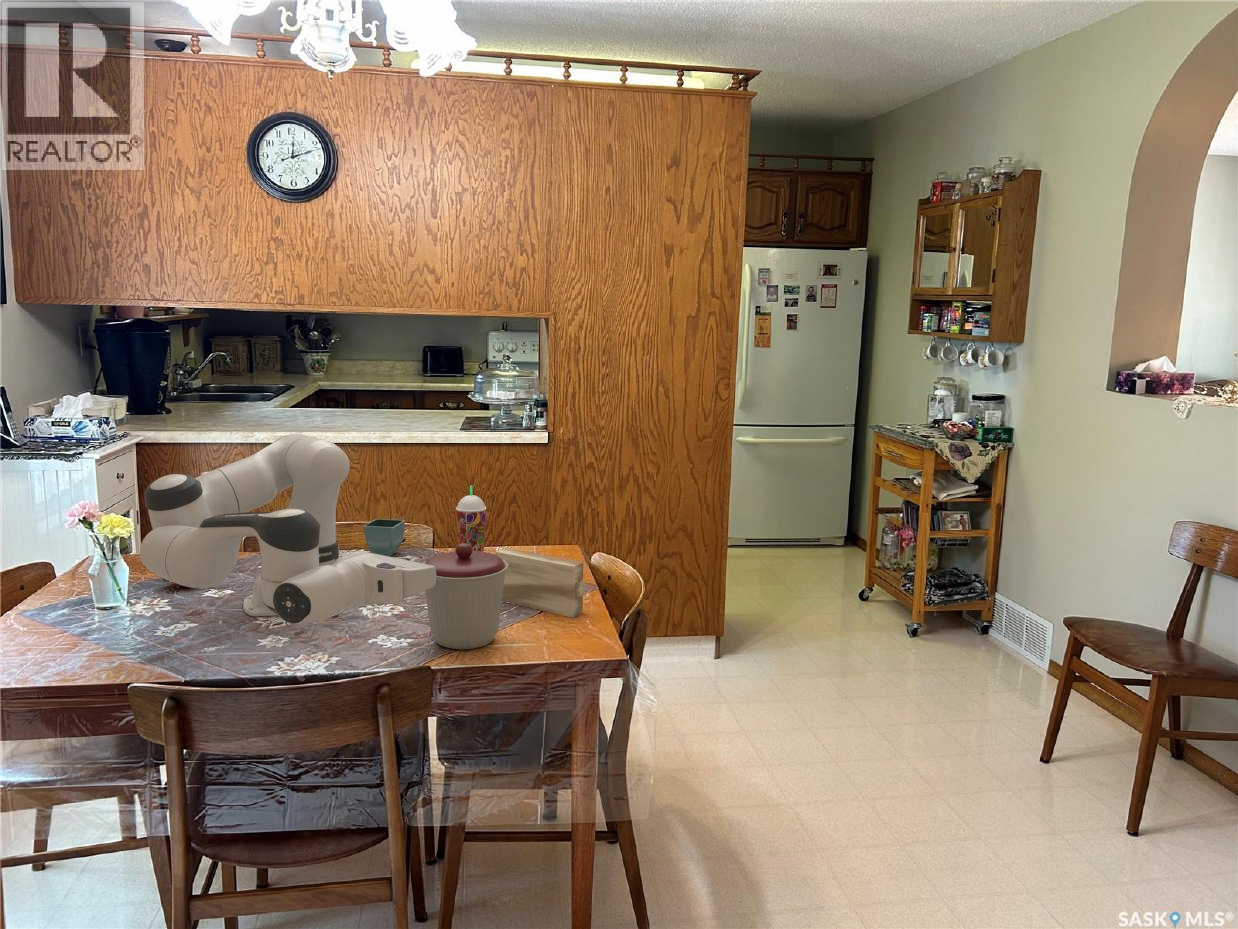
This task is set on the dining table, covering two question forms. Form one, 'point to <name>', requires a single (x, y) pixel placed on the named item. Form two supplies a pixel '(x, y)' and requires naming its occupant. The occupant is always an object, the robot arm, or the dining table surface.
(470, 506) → the smoothie
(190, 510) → the robot arm
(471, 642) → the canister
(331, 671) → the dining table surface
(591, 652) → the dining table surface
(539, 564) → the beige slab
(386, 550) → the flower pot
